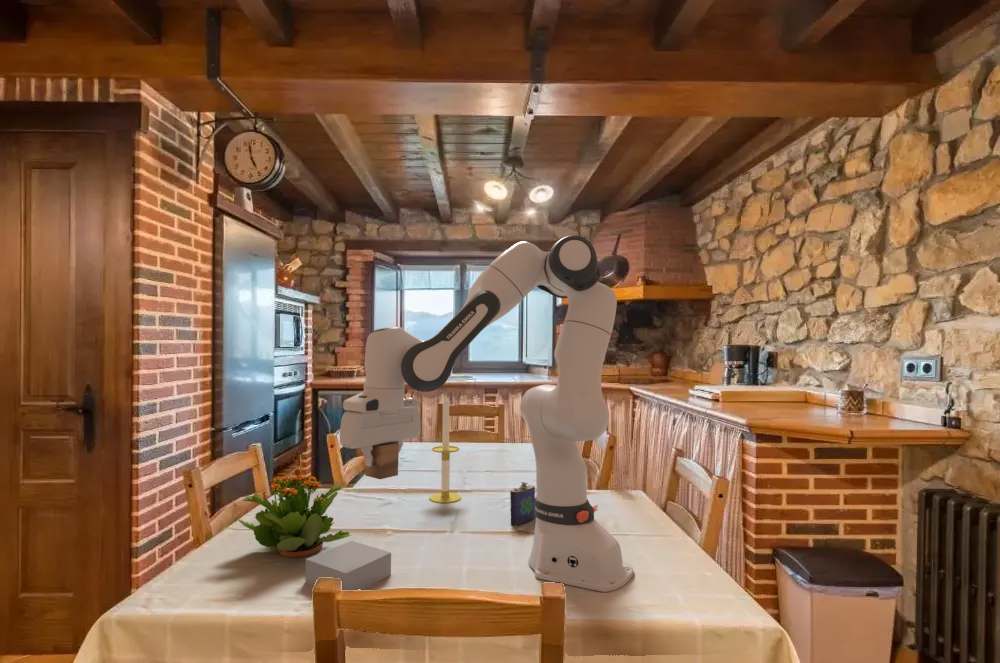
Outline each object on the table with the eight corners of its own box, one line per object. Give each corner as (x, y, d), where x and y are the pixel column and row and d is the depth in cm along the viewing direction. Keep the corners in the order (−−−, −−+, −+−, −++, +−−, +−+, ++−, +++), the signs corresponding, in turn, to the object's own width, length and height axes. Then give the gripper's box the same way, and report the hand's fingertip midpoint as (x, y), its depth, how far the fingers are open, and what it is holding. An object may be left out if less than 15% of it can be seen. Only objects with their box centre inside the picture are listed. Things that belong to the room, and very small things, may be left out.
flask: (529, 516, 150) (530, 477, 150) (538, 518, 148) (538, 479, 148) (508, 524, 143) (508, 484, 143) (516, 527, 141) (516, 486, 141)
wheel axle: (467, 499, 166) (468, 393, 166) (440, 505, 159) (441, 395, 160) (449, 491, 173) (450, 391, 174) (422, 497, 167) (423, 393, 167)
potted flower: (376, 542, 130) (377, 469, 130) (304, 582, 109) (305, 495, 109) (298, 526, 140) (299, 459, 141) (218, 560, 119) (219, 481, 119)
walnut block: (397, 475, 118) (398, 443, 118) (380, 479, 114) (381, 446, 114) (382, 471, 121) (383, 440, 121) (365, 475, 117) (366, 443, 117)
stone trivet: (390, 576, 112) (391, 552, 112) (345, 599, 102) (346, 573, 102) (351, 563, 119) (351, 540, 119) (305, 583, 109) (305, 559, 109)
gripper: (408, 396, 128) (407, 454, 128) (336, 402, 112) (334, 468, 112) (427, 398, 124) (425, 458, 124) (355, 404, 108) (353, 473, 108)
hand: (381, 463), depth 118 cm, fingers closed on walnut block, 5 cm apart
